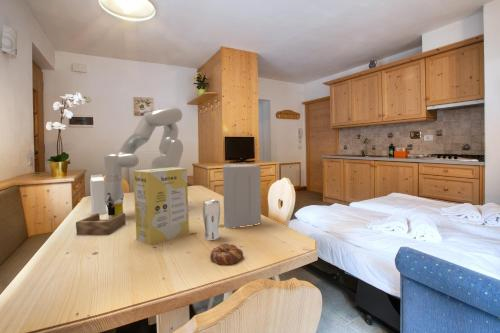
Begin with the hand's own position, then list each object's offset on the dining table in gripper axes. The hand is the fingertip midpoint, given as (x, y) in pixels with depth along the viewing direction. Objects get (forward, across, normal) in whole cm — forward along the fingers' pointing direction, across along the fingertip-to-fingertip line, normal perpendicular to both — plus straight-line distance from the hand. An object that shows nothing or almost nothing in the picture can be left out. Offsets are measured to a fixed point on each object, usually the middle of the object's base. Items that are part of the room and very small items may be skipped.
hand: (115, 212), depth 131 cm
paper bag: (+4, +8, +63) cm, 63 cm away
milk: (+4, -13, -17) cm, 22 cm away
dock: (+4, +15, +2) cm, 16 cm away
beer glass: (+4, +26, +54) cm, 60 cm away
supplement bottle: (+4, 0, 0) cm, 4 cm away
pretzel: (+4, +44, +62) cm, 76 cm away
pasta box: (+4, +23, +33) cm, 40 cm away
